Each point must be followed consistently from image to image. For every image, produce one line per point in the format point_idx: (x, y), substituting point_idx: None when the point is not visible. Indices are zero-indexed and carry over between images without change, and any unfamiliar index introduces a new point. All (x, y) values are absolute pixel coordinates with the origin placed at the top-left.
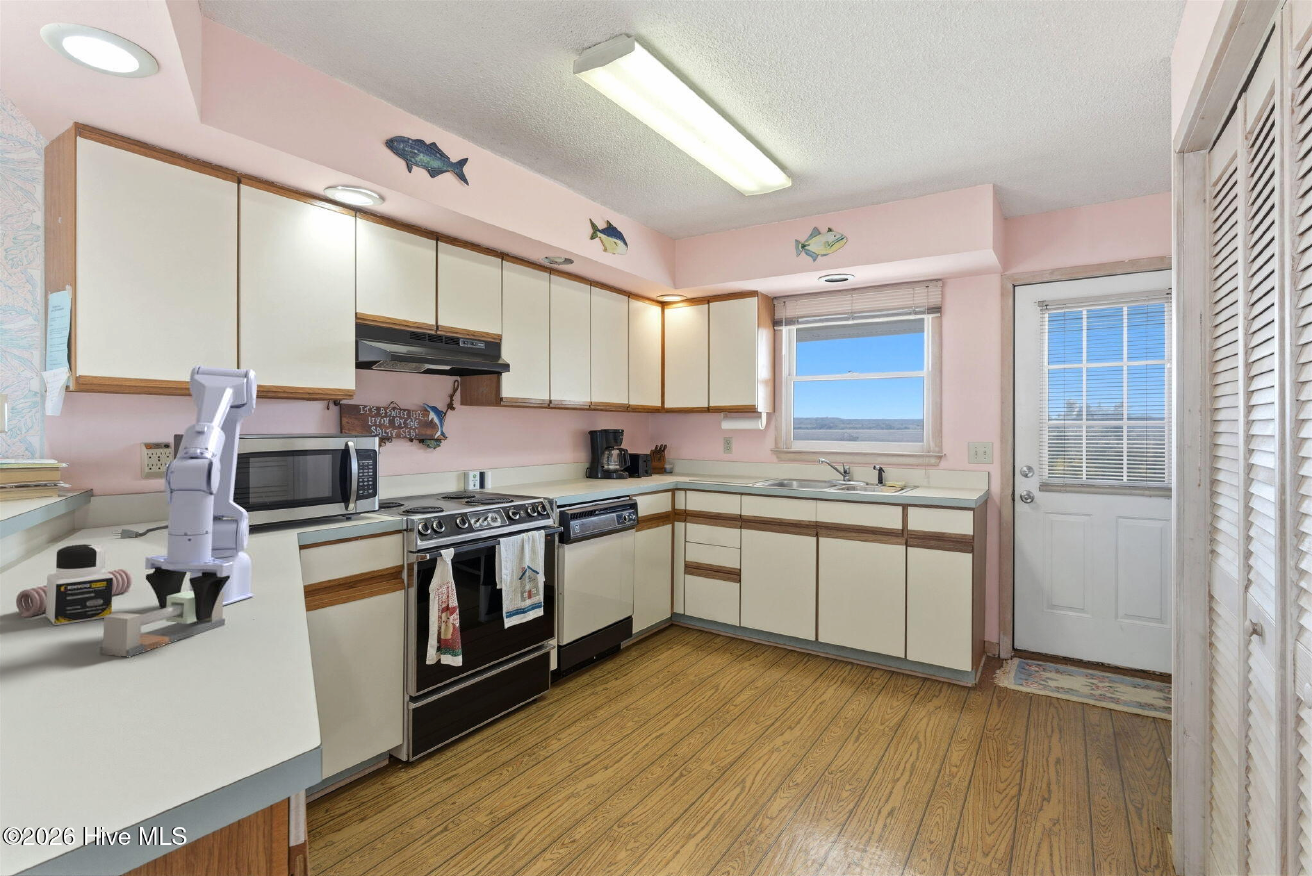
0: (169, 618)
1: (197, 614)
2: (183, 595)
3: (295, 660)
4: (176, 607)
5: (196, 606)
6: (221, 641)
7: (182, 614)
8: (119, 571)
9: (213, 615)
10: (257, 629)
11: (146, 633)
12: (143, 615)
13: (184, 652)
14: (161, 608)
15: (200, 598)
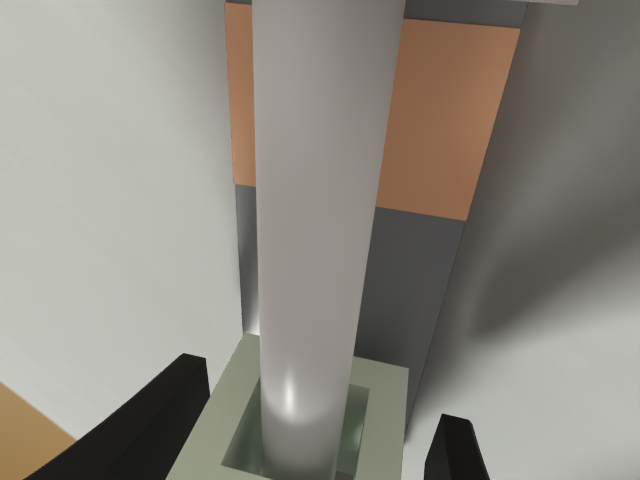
0: (379, 380)
1: (166, 380)
2: None
3: None
4: (265, 424)
5: (131, 426)
6: (70, 238)
7: None
8: None
9: None
10: (99, 373)
11: (435, 231)
12: (282, 170)
13: (47, 53)
14: (470, 468)
15: (32, 477)
